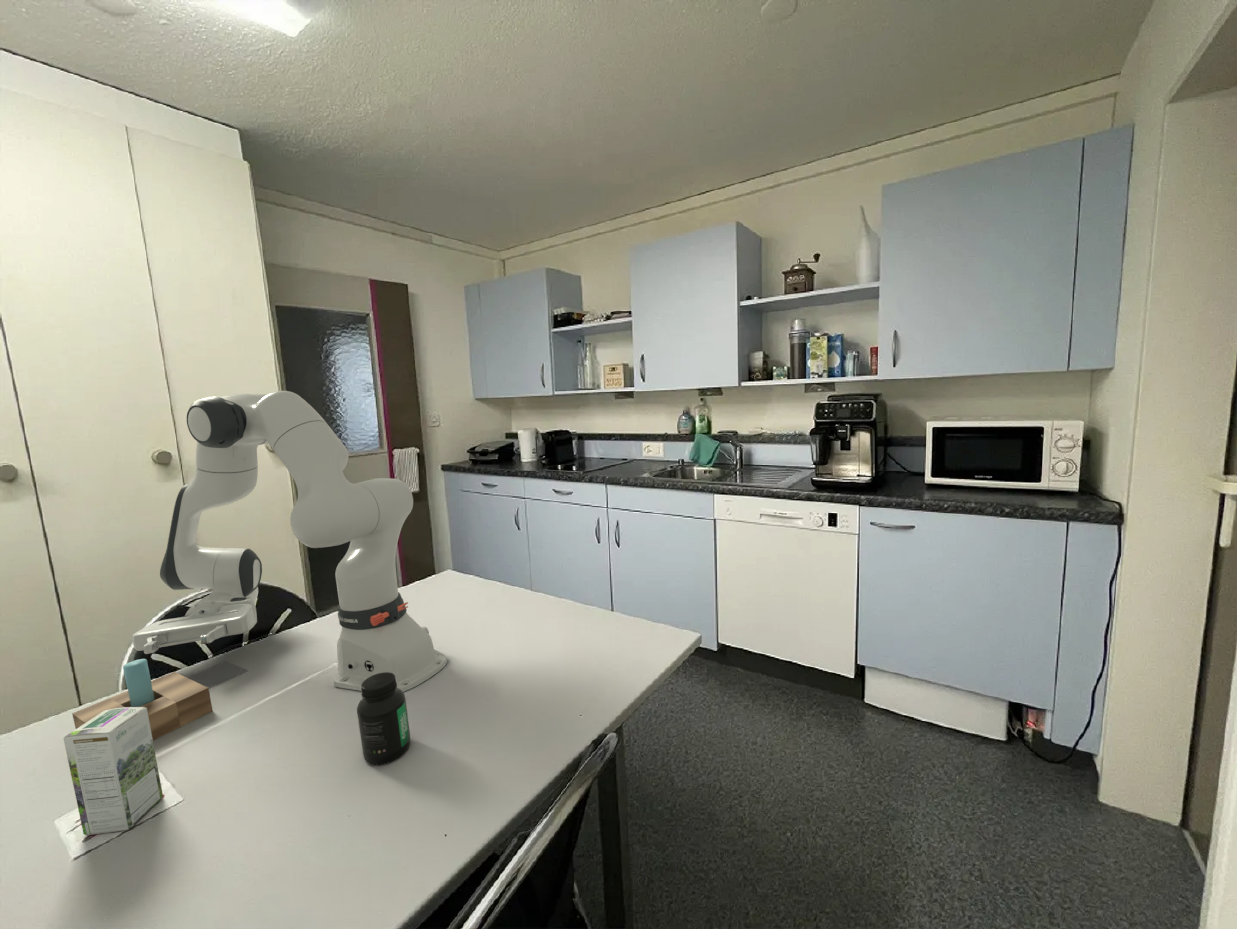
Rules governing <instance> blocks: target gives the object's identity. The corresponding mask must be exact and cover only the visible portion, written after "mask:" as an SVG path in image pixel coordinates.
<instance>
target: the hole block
mask: <svg viewBox="0 0 1237 929" xmlns="http://www.w3.org/2000/svg"><path fill="white" fill-rule="evenodd" d="M187 677H188V676H185V675H182V674H180V673H178V672H176V671H173V672H170V673H168V674H165V675H163V676H161V677H158V678H155V679H153V680H151V684H152V689H153V694H154V699H155V700H154V701H152V702H150V703H147V704H145V705H143V706H140V707H145V708H147V712H148V717H149V723H150V728H151V733H152V738H153V741H155V740H157V739H159V738H161V737H163V736H165V735H167V734H169V733H171V732H173V731H176V730H177V729H180V728H182V727H183V726H186V725H188V724H189V723H192V722H194V721H195V720H197V719H199V718H201V717H204V716H206V715H208V714H210V713H213V710H214V709H213V706H212V705H213V704H212V701H211V695H210V690H209V689H208V687H205V686H203V685H201V684H199V683H197V682H195V681H193V680H191V679H189V678H187ZM124 707H131V703H130V698H129V694H128V690H125V691H123V692H122V693H119V694H116V695H114V696H112V697H109V698H107V699H103V700H101V701H99V702H96V703H95V704H92V705H89V706H87V707H83V708H82V709H80V710H78V711H75V712H72V718H73V724H74V727H75V730H76V729H77V728H79V727H80V726H82V725H83V724H85V723H86V722H88V721H89V720H91V719H92V718H94V717H95V716H97V715H99V714H100V713H101V712H103V711H105V710H110V709H115V708H124Z"/></svg>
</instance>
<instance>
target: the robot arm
mask: <svg viewBox="0 0 1237 929" xmlns="http://www.w3.org/2000/svg"><path fill="white" fill-rule="evenodd" d="M316 410H317V409H315V408H314V407H313V406H311V404H310V403H308V402H307V401H306V400H305V399H304V398H302V396H300V395H299V394H297V393H295V392H293V391H290V390H289V391H288V390H278V391H274V392H270V393H268V394H266V393H240V394H230V395H229V394H228V395H223V396H215V395H214V396H207V397H203V398H201V399H197V400H195V401H194V402H192V403H191V405H190V406H189V409H188V411H187V413H186V424H187V425H186V426H187V429H188V431H189V434H190V435H191V437H192V438H193V439H194V440H195V441H196V447H195V448H196V450H195V473H194V477H193V478H192V480H191V482H189V483H186V484H184V485H183V486H182V487H181V488H180V490H179V491H178V494H177V496H176V499H175V501H174V507H173V513H172V516H171V523H170V526H169V527H170V528H169V533H168V539H167V544H166V549H165V553H164V555H163V556H164V557H163V559H162V562H161V565H160V570H159V577H160V579H161V580H162V582H163V583H164V584H165V585H166V586H168V587H169V588H170V589H171V590H174V591H180V590H181V591H182V590H195V589H201V590H202V589H204V590H205V589H206V590H207V589H209V590H210V589H212V591H211V593H209V594H208V595H206V596H205V597H203V598H202V599H200V600H199V601H196V603H195V604H193V605H191V607H189V608H188V610H187V611H186V613H185V615H184V616H180V617H175V618H168V619H162V620H158V621H155V622H153V623H150V624H149V625H147V626H145V627H143V628H141V629H140V630H138V631H136V632H134V633H133V634H132V637H131V639H132V645H133V647H134V649H135V651H139V652H140V651H141V652H142V651H143V653H144V654H145V655H148V654H153V653H156V652H157V651H158V650H159V648H162V647H163V648H164V647H169V646H170V647H171V646H176V645H181V644H187V643H195V642H200V644H201V645H206V644H211V643H213V642H214V641H215V640H218V639H220V638H225V637H229V636H236V635H240V634H245V633H248V632H249V631H251V630H252V628H254V627H255V625H256V624H257V623H258V617H257V608H256V605H255V603H256V600H257V598H258V595H259V585H260V583H261V578H262V573H263V565H262V561H261V559H260V557H259V556H258V555H257V553H256V552H254V550H252V549H251V548H240V547H212V546H211V547H208V546H201V545H198V544H197V542H196V539H197V534H198V529H199V524H200V523H199V522H200V518H201V514H202V513H203V512H205V511H208V510H211V509H215V508H219V507H224V506H226V505H227V506H228V505H231V504H234V503H235V502H238V501H240V500H242V499H244V498H246V497H247V496H248V495H250V494H251V493H252V492H253V490H254V489H255V488H256V486H257V482H258V471H259V468H258V467H259V466H258V465H259V464H258V446H260V445H262V446H263V445H269V446H270V447H271V449H272V450H273V451H274V453H275V454H276V456H277V457H278V458H279V460H280V461H281V463H282V464H283V465H284V466H285V468H286V469H287V471H288V472H289V473H290V475H291V477H292V479H293V480H294V482H295V486H296V488H297V500H296V502H295V504H294V506H293V508H292V510H291V513H290V517H289V519H290V521H289V522H290V527H291V531H292V533H293V535H294V537H295V538H296V539H297V540H298V541H299V542H300V543H301V544H303V545H304V546H306V547H308V548H312V549H318V548H330V547H334V546H335V547H336V546H340V545H343V544H346V543H348V542H350V543H349V547H348V549H347V551H346V553H345V555H344V556H343V558H342V559H341V560H340V561H339V563H338V564H337V566H336V569H335V574H334V575H335V576H334V577H335V582H336V588H337V589H336V591H337V596H338V602H339V604H338V606H337V616H338V617H337V618H338V622H339V625H340V626H341V631H340V634H339V638H338V640H337V642H336V646H337V647H336V651H337V652H336V653H337V672H338V674H337V675H336V677H335V678H334V680H333V686H334V688H335V687H336V688H340V689H347V690H353V691H360V692H362V690H361V685H362V683H363V681H365V680H366V679H367V678H369V677H370V676H373V675H375V674H379V673H384V672H389V673H393V674H394V675H395V678H396V683H397V688H399V689H401V690H402V691H403V692H406V691H408V690H409V691H410V690H411V689H413V688H415V687H417V686H418V685H420V684H422V683H424V682H425V681H427V680H429V679H430V678H431V677H433V676H434V675H436V674H437V673H439V672H440V671H441V670H442V669H443V668H444V667H445V666H446V665H447V663H448V661H449V658H448V656H447V655H446V654H444V653H442V652H440V651H438V650H436V649H435V648H434V645H433V644H434V643H433V639H432V637H431V635H430V631H429V629H428V627H427V626H421V625H420V624H419V623H418V622H416V620H414V618H413V617H411V616H410V615H409V613H408V612H407V608H409V606H408V604H409V602H408V601H406V602H405V601H404V599H403V597H402V594H401V593H400V592H399V588H398V579H397V569H396V568H397V567H396V566H397V565H396V554H397V547H398V541H399V538H400V534H401V531H402V528H403V526H404V523H405V521H406V520H407V518H408V516H409V515H410V514H411V512H412V511H413V507H414V496H413V493H412V491H411V489H410V487H409V486H408V484H407V483H405V482H404V481H402V480H401V479H397V478H389V477H383V478H382V477H380V478H378V477H377V478H371V479H369V480H363V481H359V482H356V483H355V482H354V483H352V482H350V481H349V480H348V479H347V478H346V476H345V474H344V472H343V471H344V470H345V468H346V467H347V464H348V461H349V455H350V454H349V450H348V449H347V447H346V446H345V445H344V443H343V442H342V441H341V439H340V438H339V437H338V436H337V434H336V433H335V432H334V430H333V429H332V428H331V427H330V426H329V424H328V423H327V422H326V420H325V419H324V418H323V417H322V416H321V414H319V413H318V411H316ZM406 605H407V606H406Z"/></svg>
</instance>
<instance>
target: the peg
mask: <svg viewBox="0 0 1237 929" xmlns="http://www.w3.org/2000/svg"><path fill="white" fill-rule="evenodd" d="M122 669H123V674H124V678H125V683H126V687H127V691H128V694H129V698H130V703H131V707H140V706H143V705H145V704H147V703H150V702H152V701H154V700H155V699H154V694H153V689H152V684H151V681H152V679H151V675H150V674H151V673H150V669H149V665H148V660H147V659H146V658H141V659H136V660H135V659H134V660H132V661H130V662H127V663H125V664H124V665H123V666H122Z"/></svg>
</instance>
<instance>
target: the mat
mask: <svg viewBox="0 0 1237 929" xmlns="http://www.w3.org/2000/svg"><path fill="white" fill-rule="evenodd" d="M248 671H250V670H248V669H246V668H244V667H241V666H238V665H236V664H233V663H231V662H229V661H226V660H224V661H222V662H220V663H217V664H215V665H213V666H210V667H209V668H205V669H203V670H201V671H198V672H196V673H193V674H192V675H189V676H186V677H187V678H189V679H191V680H193V681H195V682H197V683H199V684H201V685H203V686H205V687H208V689H212V688H215V687H216V686H218V685H221V684H222V683H225V682H227V681H229V680H231V679H234V678H236V677H238V676H240V675H243V674H244V673H247V672H248Z"/></svg>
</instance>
